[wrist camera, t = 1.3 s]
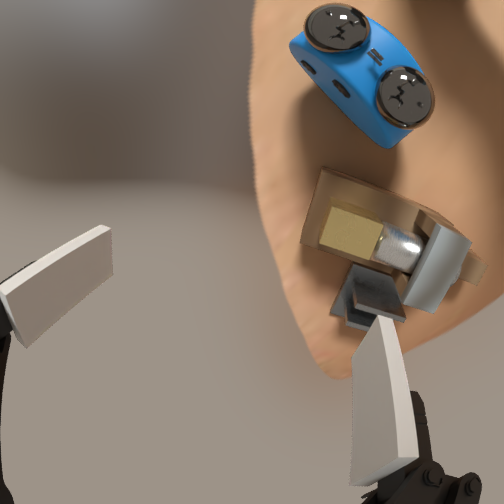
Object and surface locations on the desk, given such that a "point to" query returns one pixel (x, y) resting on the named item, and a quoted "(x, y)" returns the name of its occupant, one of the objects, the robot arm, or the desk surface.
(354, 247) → the tan rectangular block
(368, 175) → the desk surface
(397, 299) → the grey slotted plate stand
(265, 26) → the desk surface
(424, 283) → the beam
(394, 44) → the alarm clock
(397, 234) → the axle
